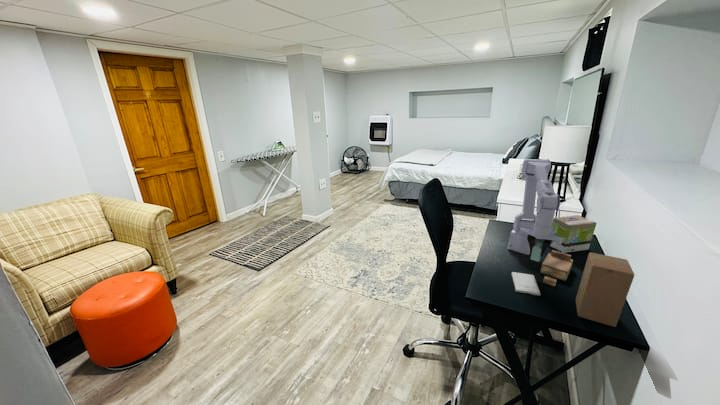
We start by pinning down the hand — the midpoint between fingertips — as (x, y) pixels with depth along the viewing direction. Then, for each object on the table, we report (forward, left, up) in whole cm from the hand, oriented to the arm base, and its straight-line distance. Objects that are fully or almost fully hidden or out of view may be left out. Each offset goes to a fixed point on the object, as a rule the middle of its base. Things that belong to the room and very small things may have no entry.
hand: (536, 254), depth 116 cm
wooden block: (+22, -12, -10) cm, 27 cm away
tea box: (+7, +36, -10) cm, 38 cm away
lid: (+7, +9, -6) cm, 13 cm away
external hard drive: (0, -10, -10) cm, 14 cm away
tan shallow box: (+7, +5, -9) cm, 13 cm away
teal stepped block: (0, 0, -2) cm, 2 cm away
